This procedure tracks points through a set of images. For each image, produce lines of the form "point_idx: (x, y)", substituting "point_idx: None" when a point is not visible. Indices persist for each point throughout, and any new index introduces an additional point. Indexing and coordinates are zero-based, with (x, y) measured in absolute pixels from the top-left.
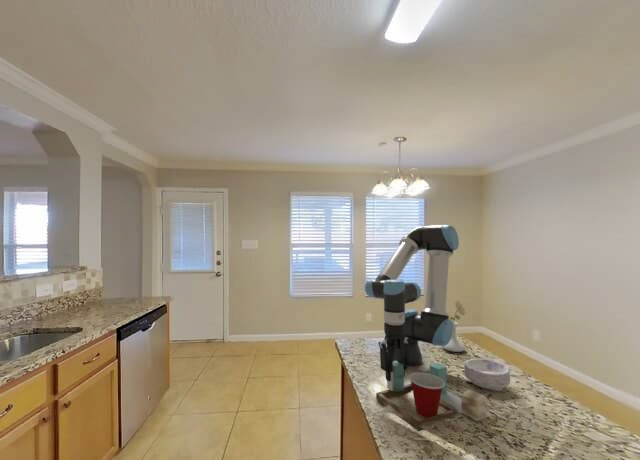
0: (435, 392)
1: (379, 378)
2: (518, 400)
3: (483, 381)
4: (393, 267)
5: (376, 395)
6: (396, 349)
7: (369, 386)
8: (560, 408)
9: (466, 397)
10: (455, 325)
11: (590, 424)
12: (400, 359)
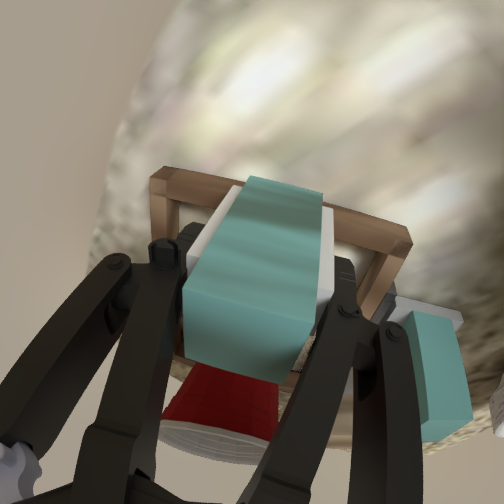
0: (207, 440)
1: (383, 4)
2: (480, 404)
3: (494, 404)
4: None
5: (155, 174)
6: (257, 477)
7: (234, 33)
8: (472, 428)
9: (329, 437)
10: None
11: (437, 445)
12: (293, 393)
